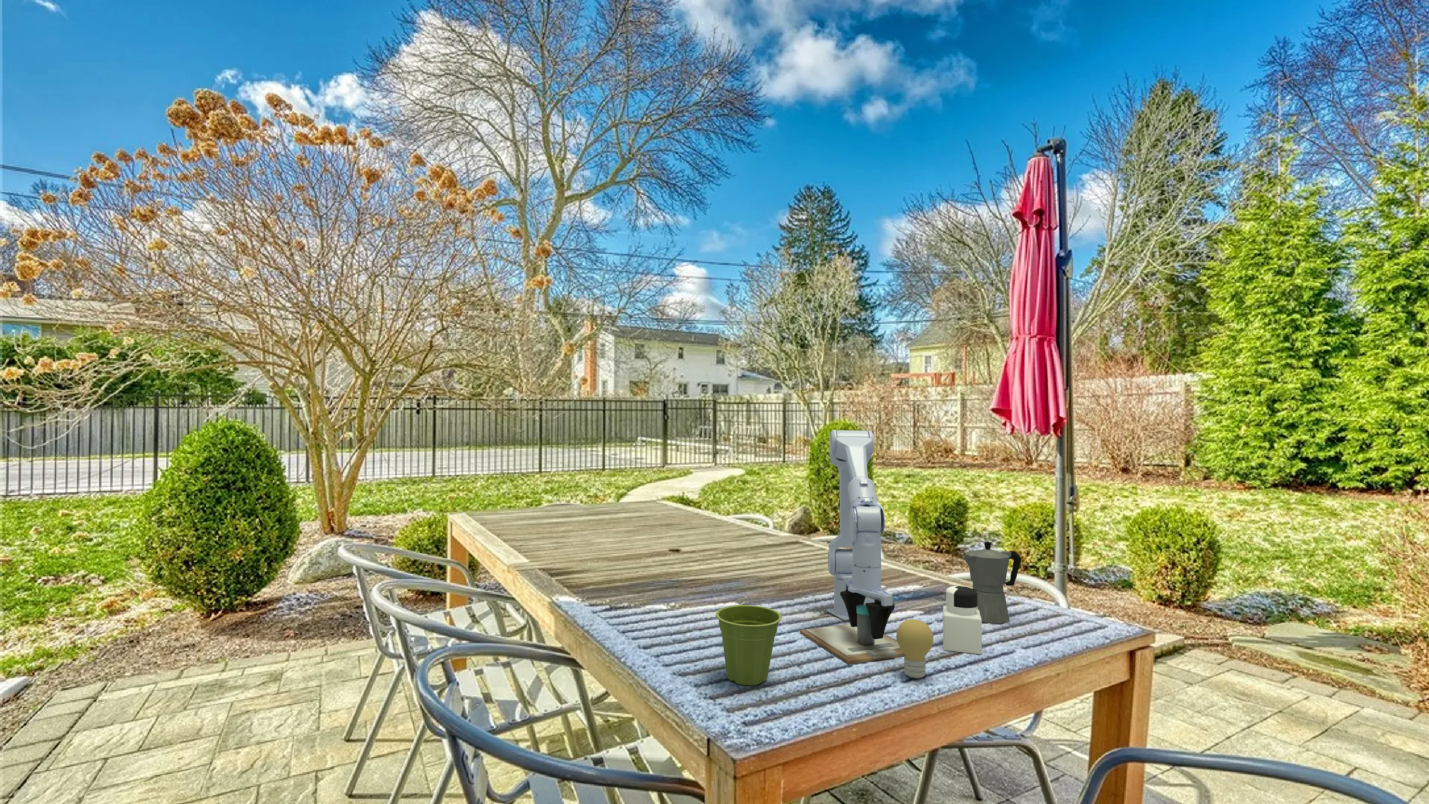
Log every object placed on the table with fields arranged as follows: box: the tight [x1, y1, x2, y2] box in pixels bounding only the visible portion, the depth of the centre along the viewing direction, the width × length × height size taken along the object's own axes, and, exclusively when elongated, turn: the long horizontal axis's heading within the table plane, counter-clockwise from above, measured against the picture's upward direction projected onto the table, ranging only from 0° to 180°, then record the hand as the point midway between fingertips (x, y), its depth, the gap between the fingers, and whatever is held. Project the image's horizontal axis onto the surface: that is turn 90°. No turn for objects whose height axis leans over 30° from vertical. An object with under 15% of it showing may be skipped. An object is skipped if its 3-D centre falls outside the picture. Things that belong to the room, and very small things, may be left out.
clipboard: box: [799, 623, 905, 666], centre depth 129 cm, size 16×20×1 cm
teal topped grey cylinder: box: [856, 605, 875, 646], centre depth 127 cm, size 4×4×7 cm
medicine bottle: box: [942, 585, 983, 655], centre depth 128 cm, size 7×7×12 cm
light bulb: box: [896, 618, 934, 679], centre depth 113 cm, size 6×6×10 cm
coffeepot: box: [961, 541, 1022, 625], centre depth 148 cm, size 15×9×18 cm, turn 101°
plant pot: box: [715, 604, 783, 687], centre depth 111 cm, size 12×12×11 cm
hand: (866, 632), depth 127 cm, fingers open, 7 cm apart
